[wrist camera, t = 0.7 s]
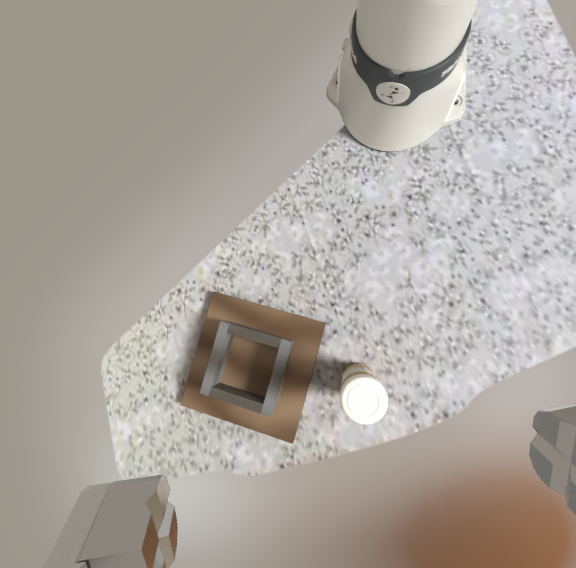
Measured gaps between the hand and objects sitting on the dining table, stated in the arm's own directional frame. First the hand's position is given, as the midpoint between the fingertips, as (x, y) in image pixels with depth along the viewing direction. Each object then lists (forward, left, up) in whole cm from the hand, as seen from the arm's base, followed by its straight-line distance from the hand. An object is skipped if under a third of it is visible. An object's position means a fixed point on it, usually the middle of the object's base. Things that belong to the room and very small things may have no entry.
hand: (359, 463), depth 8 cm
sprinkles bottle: (+4, +3, -42) cm, 42 cm away
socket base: (+6, -11, -42) cm, 43 cm away
